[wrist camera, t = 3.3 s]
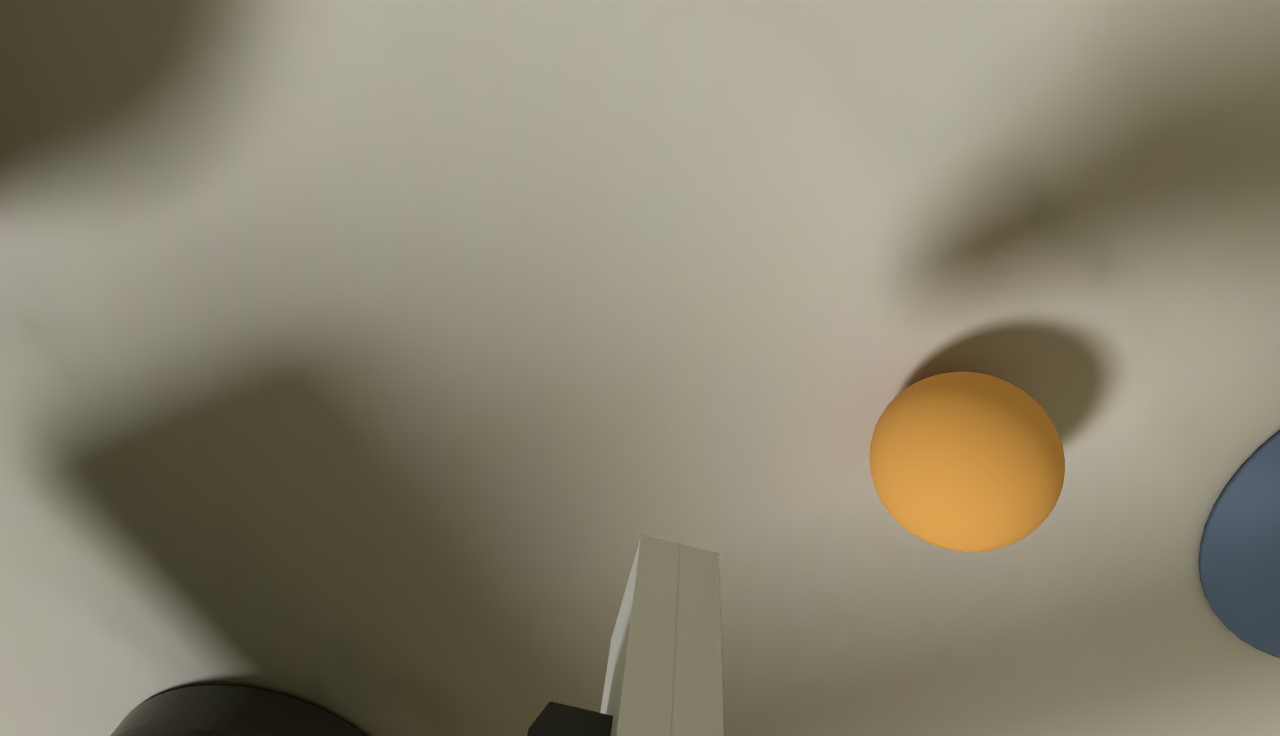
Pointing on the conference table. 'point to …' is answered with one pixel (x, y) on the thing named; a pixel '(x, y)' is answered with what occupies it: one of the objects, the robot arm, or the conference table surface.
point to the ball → (967, 461)
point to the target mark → (1247, 551)
